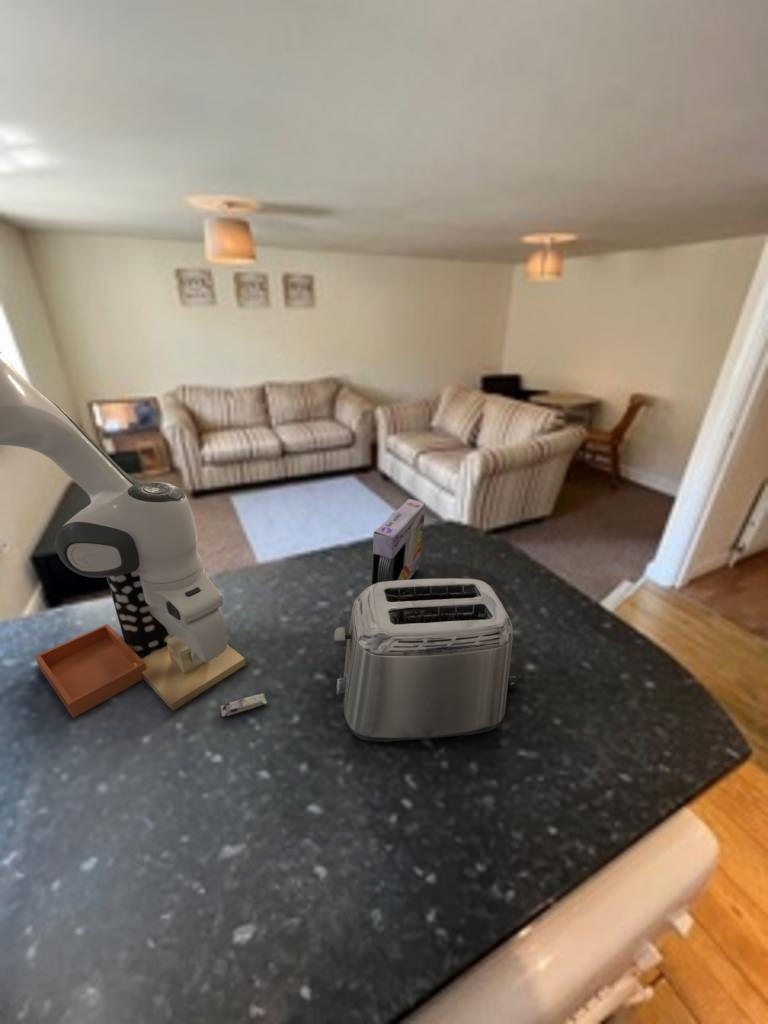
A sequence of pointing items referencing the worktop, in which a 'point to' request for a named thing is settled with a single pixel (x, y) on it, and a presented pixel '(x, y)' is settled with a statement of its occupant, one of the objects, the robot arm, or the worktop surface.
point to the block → (180, 655)
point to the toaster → (425, 660)
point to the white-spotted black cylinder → (136, 615)
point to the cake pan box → (398, 543)
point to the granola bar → (243, 704)
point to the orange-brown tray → (90, 668)
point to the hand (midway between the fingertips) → (188, 652)
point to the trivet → (187, 675)
